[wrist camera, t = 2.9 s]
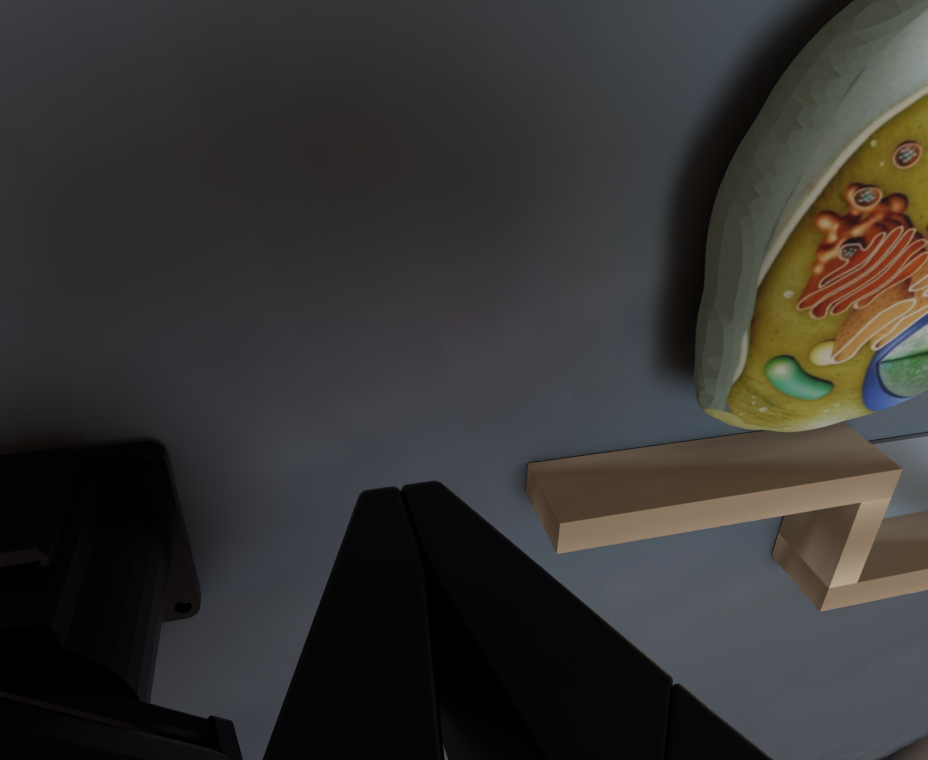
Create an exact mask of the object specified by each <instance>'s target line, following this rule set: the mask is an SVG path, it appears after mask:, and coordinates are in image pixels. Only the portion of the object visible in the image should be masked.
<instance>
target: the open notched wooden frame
mask: <svg viewBox="0 0 928 760" xmlns="http://www.w3.org/2000/svg"><path fill="white" fill-rule="evenodd" d="M526 494H527V496H528V498H529V500H530V502H531V503H532V505H533V507H534V509H535V511H536V513H537V515H538V517H539V519H540V521H541V523H542V525H543V527H544V529H545V531H546V533H547V535H548V537H549V539H550V541H551V543H552V545H553V547H554V549H555V551H556V553H557V554H559V553H565V552H571V551H577V550H583V549H589V548H595V547H601V546H607V545H613V544H619V543H624V542H630V541H636V540H642V539H648V538H654V537H660V536H666V535H672V534H678V533H684V532H689V531H695V530H701V529H707V528H713V527H719V526H725V525H731V524H737V523H743V522H749V521H754V520H760V519H766V518H772V517H778V516H784V517H783V521H782V524H781V527H780V530H779V534H778V537H777V540H776V543H775V546H774V550H773V553H772V556H773V557H774V559H775V560H776V561H777V562H778V563H779V564H780V566H781V567H782V568H783V569H784V570H785V571H786V573H787V574H788V575H789V576H790V577H791V578H792V580H793V581H794V582H795V583H796V584H797V585H798V587H799V588H800V589H801V590H802V591H803V592H804V593H805V595H806V596H807V597H808V598H809V599H810V600H811V602H812V603H813V604H814V605H815V606H816V607H817V609H818V610H819V611H820V612H821V611H826V610H831V609H836V608H840V607H845V606H850V605H855V604H860V603H865V602H870V601H875V600H880V599H884V598H889V597H894V596H899V595H904V594H909V593H914V592H919V591H924V590H928V433H922V434H915V435H909V436H902V437H895V438H888V439H882V440H875V441H867V440H866V439H865V438H863V437H862V436H861V435H860V434H858V433H857V432H856V431H855V430H853V429H852V428H851V427H849V426H848V425H847V424H846V423H844V422H843V421H842V422H839V423H836V424H832V425H829V426H825V427H821V428H817V429H812V430H805V431H799V432H777V431H770V430H765V431H758V432H751V433H744V434H736V435H729V436H722V437H715V438H708V439H700V440H693V441H686V442H679V443H672V444H664V445H657V446H650V447H643V448H636V449H629V450H621V451H614V452H607V453H600V454H593V455H585V456H578V457H571V458H564V459H557V460H550V461H542V462H535V463H528V470H527V483H526Z"/></svg>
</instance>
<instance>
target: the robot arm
mask: <svg viewBox="0 0 928 760" xmlns="http://www.w3.org/2000/svg"><path fill="white" fill-rule="evenodd" d="M143 457H151V458H152V459H154V460H155V461H156V462H154V463H151V464H149V463H144V462H142V461H141V460H140V458H143ZM181 601H187V602H188V603H179V602H181ZM200 602H201V593H200V588H199V584H198V580H197V576H196V571H195V567H194V563H193V559H192V554H191V550H190V546H189V542H188V537H187V533H186V529H185V525H184V521H183V516H182V512H181V508H180V504H179V499H178V495H177V491H176V487H175V482H174V478H173V474H172V470H171V465H170V461H169V457H168V453H167V451H166V449H165V448H164V447H163V446H162V445H160V444H158V443H155V442H153V441H143V442H134V443H126V444H117V445H109V446H100V447H92V448H83V449H76V448H72V447H68V448H60V449H51V450H43V451H34V452H26V453H17V454H9V455H0V760H243V759H242V755H241V751H240V747H239V744H238V740H237V736H236V732H235V729H234V725H233V722H232V721H231V720H227V719H223V718H220V717H216V716H210V717H208V718H207V719H206V718H202V717H199V716H195V715H191V714H188V713H184V712H180V711H176V710H173V709H169V708H165V707H162V706H158V705H154V704H150V699H151V692H152V685H153V678H154V671H155V664H156V658H157V651H158V644H159V637H160V630H161V623H162V622H168V621H173V620H179V619H185V618H189V617H192V616H194V615H195V614H197V613H198V611H199V609H200ZM672 686H673V687H672ZM443 745H444V748H445V751H446V754H447V757H448V760H773V759H772V758H770V757H769V756H768V755H766V754H765V753H764V752H763V751H761V750H760V749H759V748H758V747H757V746H755V745H754V744H753V743H752V742H750V741H749V740H748V739H747V738H745V737H744V736H743V735H742V734H740V733H739V732H738V731H737V730H735V729H734V728H733V727H732V726H730V725H729V724H728V723H727V722H725V721H724V720H723V719H722V718H720V717H719V716H718V715H717V714H715V713H714V712H713V711H712V710H711V709H709V708H708V707H707V706H706V705H705V704H703V703H702V702H701V701H700V700H699V699H698V698H696V697H695V696H694V695H693V694H692V693H690V692H689V691H688V690H687V689H686V688H684V687H683V686H682V685H681V684H678V683H677V684H674V685H673V679H672V677H671V676H670V675H669V674H667V673H666V672H665V671H664V670H663V669H661V668H660V667H659V666H658V665H657V664H656V663H654V662H653V661H652V660H651V659H650V658H648V657H647V656H646V655H645V654H644V653H642V652H641V651H640V650H639V649H638V648H637V647H635V646H634V645H633V644H632V643H631V642H629V641H628V640H627V639H626V638H625V637H624V636H622V635H621V634H620V633H619V632H618V631H616V630H615V629H614V628H613V627H612V626H610V625H609V624H608V623H607V622H606V621H605V620H603V619H602V618H601V617H600V616H599V615H597V614H596V613H595V612H594V611H593V610H592V609H590V608H589V607H588V606H587V605H586V604H584V603H583V602H582V601H581V600H580V599H578V598H577V597H576V596H575V595H574V594H573V593H571V592H570V591H569V590H568V589H567V588H565V587H564V586H563V585H562V584H561V583H560V582H558V581H557V580H556V579H555V578H554V577H552V576H551V575H550V574H549V573H548V572H546V571H545V570H544V569H543V568H542V567H541V566H539V565H538V564H537V563H536V562H535V561H533V560H532V559H531V558H530V557H529V556H527V555H526V554H525V553H524V552H523V551H522V550H520V549H519V548H518V547H517V546H516V545H514V544H513V543H512V542H511V541H510V540H509V539H507V538H506V537H505V536H504V535H503V534H501V533H500V532H499V531H498V530H497V529H495V528H494V527H493V526H492V525H491V524H490V523H488V522H487V521H486V520H485V519H484V518H482V517H481V516H480V515H479V514H478V513H477V512H475V511H474V510H473V509H472V508H471V507H469V506H468V505H467V504H466V503H465V502H463V501H462V500H461V499H460V498H459V497H458V496H456V495H455V494H454V493H453V492H452V491H450V490H449V489H448V488H447V487H446V486H445V485H443V484H442V483H440V482H438V481H428V482H421V483H414V484H407V485H404V486H403V487H402V489H401V491H400V490H399V489H398V488H397V487H385V488H378V489H371V490H365V491H363V492H361V494H360V495H359V497H358V499H357V502H356V505H355V508H354V510H353V513H352V516H351V518H350V521H349V524H348V527H347V529H346V532H345V535H344V538H343V540H342V543H341V546H340V549H339V551H338V554H337V557H336V560H335V562H334V565H333V568H332V571H331V573H330V576H329V579H328V582H327V584H326V587H325V590H324V593H323V595H322V598H321V601H320V604H319V606H318V609H317V612H316V614H315V617H314V620H313V623H312V625H311V628H310V631H309V634H308V636H307V639H306V642H305V645H304V647H303V650H302V653H301V656H300V658H299V661H298V664H297V667H296V669H295V672H294V675H293V678H292V680H291V683H290V686H289V689H288V691H287V694H286V697H285V700H284V702H283V705H282V708H281V710H280V713H279V716H278V719H277V721H276V724H275V727H274V730H273V732H272V735H271V738H270V741H269V743H268V746H267V749H266V752H265V754H264V757H263V760H445V759H444V749H443Z"/></svg>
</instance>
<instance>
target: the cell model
mask: <svg viewBox="0 0 928 760" xmlns="http://www.w3.org/2000/svg"><path fill="white" fill-rule="evenodd" d="M694 386H695V392H696V398H697V401H698V404H699V406H700V407H701V409H702V410H703V411H704V412H705V413H706V414H708V415H709V416H712V417H714V418H716V419H718V420H721V421H723V422H725V423H727V424H729V425H731V426H735V427H739V428H744V429H755V430H770V431H777V432H799V431H805V430H812V429H817V428H821V427H825V426H829V425H832V424H836V423H839V422H842V421H845V420H849V419H853V418H857V417H860V416H864V415H867V414H871V413H874V412H878V411H881V410H884V409H886V408H889V407H892V406H894V405H897V404H899V403H901V402H903V401H906V400H908V399H910V398H912V397H914V396H916V395H918V394H920V393H922V392H924V391H926V390H927V389H928V0H853V1H852V2H851V3H850V4H849V5H847V6H846V7H845V8H844V9H843V10H842V11H840V12H839V13H838V14H837V15H836V16H834V17H833V18H832V19H831V20H830V21H829V22H828V23H827V24H826V25H824V26H823V27H822V29H821V30H820V31H819V32H818V33H817V34H816V35H815V36H814V37H813V38H812V39H811V40H810V41H809V42H808V43H807V44H806V46H805V47H804V48H803V49H802V50H801V51H800V53H799V54H798V55H797V56H796V57H795V59H794V60H793V61H792V63H791V64H790V65H789V67H788V68H787V69H786V70H785V72H784V73H783V75H782V76H781V78H780V79H779V81H778V82H777V84H776V85H775V87H774V88H773V90H772V91H771V93H770V95H769V97H768V98H767V100H766V102H765V104H764V105H763V107H762V109H761V111H760V113H759V115H758V116H757V118H756V120H755V121H754V123H753V124H752V126H751V127H750V129H749V130H748V132H747V133H746V135H745V137H744V138H743V140H742V141H741V143H740V145H739V147H738V148H737V150H736V152H735V154H734V156H733V158H732V160H731V162H730V164H729V166H728V168H727V171H726V173H725V175H724V177H723V180H722V182H721V185H720V187H719V190H718V193H717V196H716V199H715V203H714V207H713V210H712V214H711V218H710V224H709V229H708V234H707V244H706V255H705V277H704V289H703V294H702V299H701V304H700V308H699V313H698V319H697V327H696V343H695V368H694Z"/></svg>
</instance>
